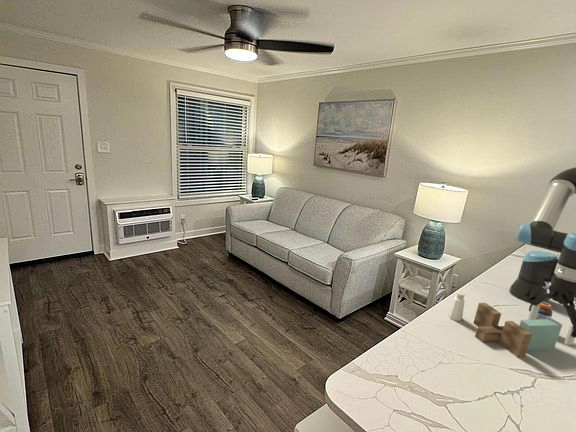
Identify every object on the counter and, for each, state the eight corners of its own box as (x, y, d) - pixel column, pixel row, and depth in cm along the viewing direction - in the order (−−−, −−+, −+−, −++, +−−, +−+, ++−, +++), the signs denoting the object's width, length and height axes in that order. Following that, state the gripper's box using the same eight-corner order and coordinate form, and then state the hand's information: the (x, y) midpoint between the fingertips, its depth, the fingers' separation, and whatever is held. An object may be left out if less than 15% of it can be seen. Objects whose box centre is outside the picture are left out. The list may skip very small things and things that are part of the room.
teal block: (544, 342, 116) (552, 319, 113) (553, 348, 113) (562, 324, 110) (513, 344, 113) (521, 320, 111) (522, 350, 110) (530, 325, 107)
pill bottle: (529, 322, 129) (537, 298, 126) (547, 329, 125) (555, 304, 122) (526, 327, 125) (534, 302, 122) (545, 335, 121) (554, 309, 118)
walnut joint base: (459, 323, 123) (464, 303, 121) (493, 322, 126) (499, 302, 124) (501, 358, 104) (508, 335, 102) (540, 356, 108) (547, 333, 105)
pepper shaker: (444, 314, 129) (450, 290, 126) (453, 312, 131) (459, 289, 128) (455, 322, 124) (462, 297, 121) (465, 320, 126) (471, 295, 123)
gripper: (525, 263, 118) (510, 312, 123) (600, 295, 94) (577, 355, 99) (541, 263, 120) (525, 312, 125) (618, 295, 96) (595, 354, 101)
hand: (548, 331), depth 112 cm, fingers open, 13 cm apart
